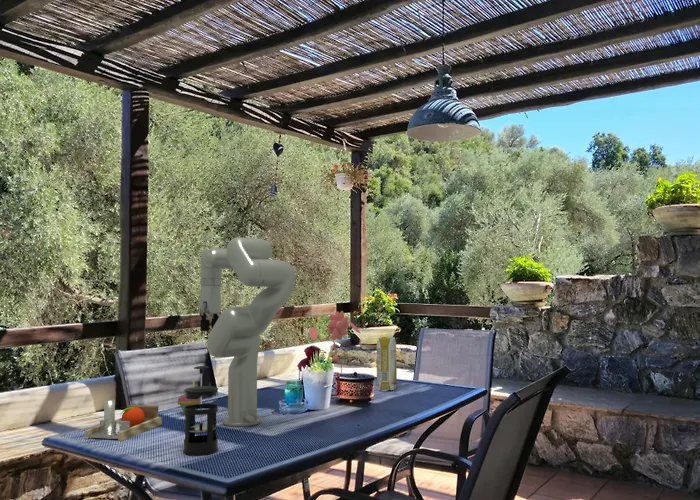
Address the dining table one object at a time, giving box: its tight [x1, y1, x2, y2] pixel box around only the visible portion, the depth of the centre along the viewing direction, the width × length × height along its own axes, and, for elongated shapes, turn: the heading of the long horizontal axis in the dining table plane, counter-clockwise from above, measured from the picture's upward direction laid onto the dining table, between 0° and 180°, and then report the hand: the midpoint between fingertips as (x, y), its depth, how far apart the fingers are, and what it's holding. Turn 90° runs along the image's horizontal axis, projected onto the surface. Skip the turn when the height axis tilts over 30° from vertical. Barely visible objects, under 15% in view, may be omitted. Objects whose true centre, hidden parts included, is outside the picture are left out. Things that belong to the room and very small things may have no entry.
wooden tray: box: [84, 404, 163, 442], centre depth 187 cm, size 22×12×6 cm, turn 167°
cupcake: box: [177, 378, 201, 415], centre depth 214 cm, size 9×8×12 cm
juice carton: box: [376, 334, 398, 391], centre depth 261 cm, size 9×8×24 cm
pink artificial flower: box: [308, 310, 361, 374], centre depth 252 cm, size 15×26×35 cm, turn 133°
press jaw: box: [90, 399, 130, 440], centre depth 180 cm, size 6×9×11 cm, turn 77°
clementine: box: [119, 406, 144, 427], centre depth 190 cm, size 8×7×7 cm
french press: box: [182, 365, 219, 457], centre depth 164 cm, size 12×9×23 cm
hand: (210, 329), depth 218 cm, fingers open, 9 cm apart
